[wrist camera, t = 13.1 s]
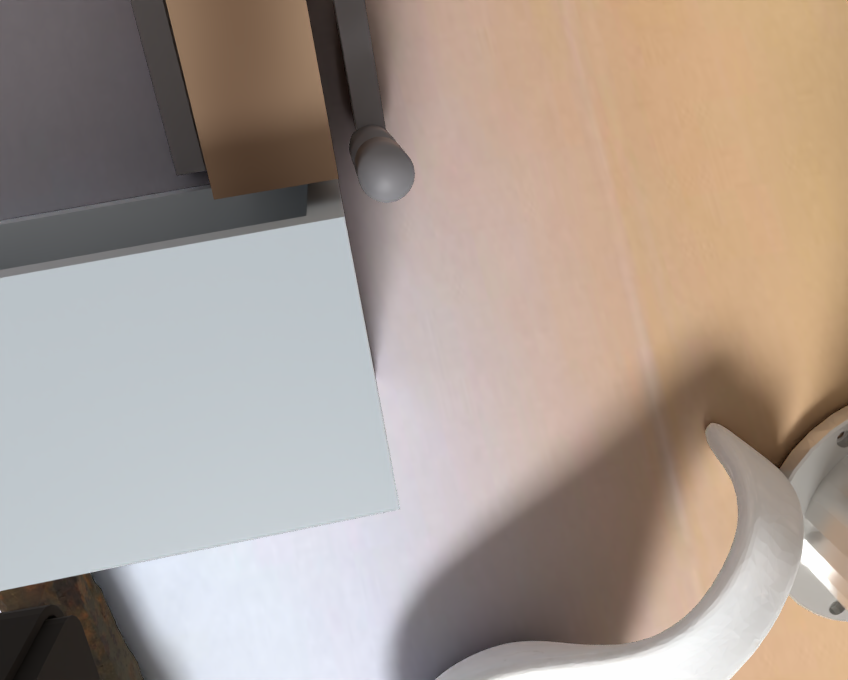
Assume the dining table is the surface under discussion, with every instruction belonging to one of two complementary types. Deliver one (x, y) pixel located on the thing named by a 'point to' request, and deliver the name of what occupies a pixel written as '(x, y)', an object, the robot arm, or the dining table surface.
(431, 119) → the dining table surface
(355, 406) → the cabinet
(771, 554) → the spoon rest
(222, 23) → the door
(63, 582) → the hand tool
